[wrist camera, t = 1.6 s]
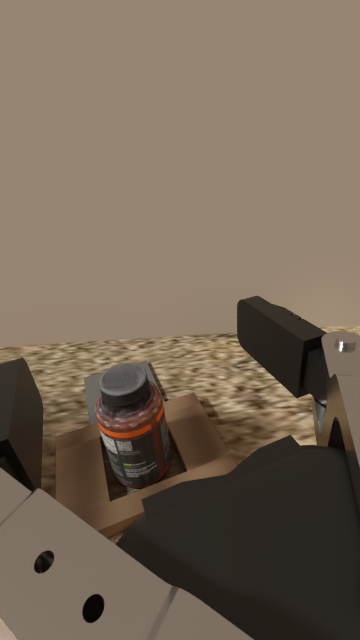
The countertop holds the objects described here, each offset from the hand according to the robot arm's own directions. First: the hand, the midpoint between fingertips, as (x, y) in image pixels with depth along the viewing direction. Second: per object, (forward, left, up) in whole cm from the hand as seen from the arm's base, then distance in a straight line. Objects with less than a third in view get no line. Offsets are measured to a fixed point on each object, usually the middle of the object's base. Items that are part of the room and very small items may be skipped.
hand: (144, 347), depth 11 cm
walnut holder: (0, +11, -21) cm, 23 cm away
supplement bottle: (0, +11, -21) cm, 24 cm away
